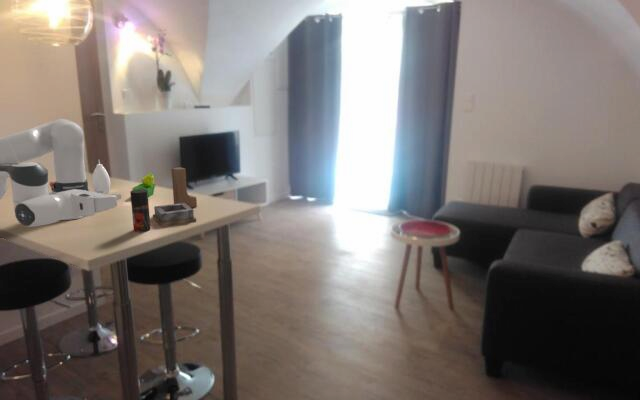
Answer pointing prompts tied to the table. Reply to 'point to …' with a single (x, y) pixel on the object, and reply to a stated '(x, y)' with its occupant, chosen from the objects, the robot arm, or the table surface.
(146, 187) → the fruit basket
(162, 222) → the grey shallow box
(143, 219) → the deodorant
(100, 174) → the white teardrop ornament
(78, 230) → the table surface
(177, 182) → the wooden block
